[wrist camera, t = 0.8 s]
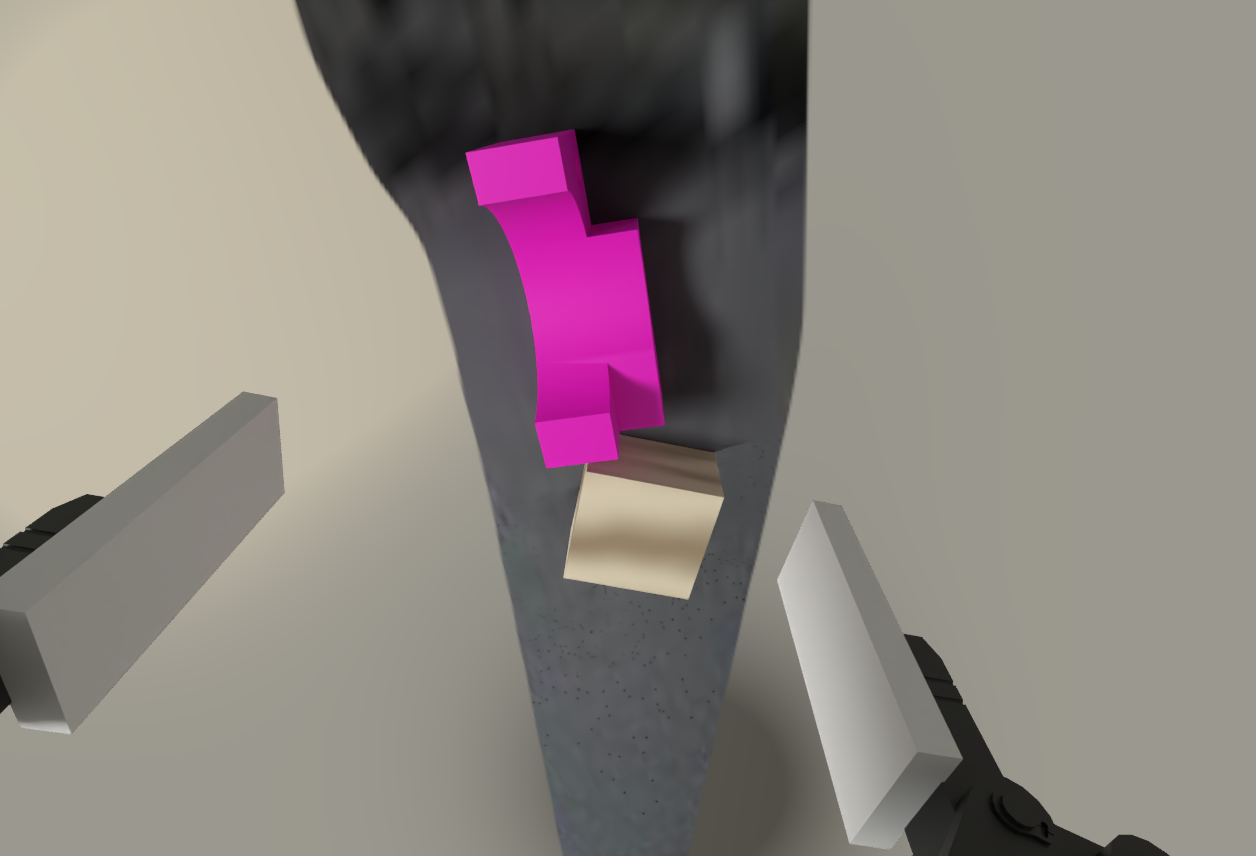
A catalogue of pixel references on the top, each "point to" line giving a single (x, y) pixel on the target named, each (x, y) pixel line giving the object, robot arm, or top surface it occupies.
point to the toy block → (575, 298)
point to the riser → (645, 518)
